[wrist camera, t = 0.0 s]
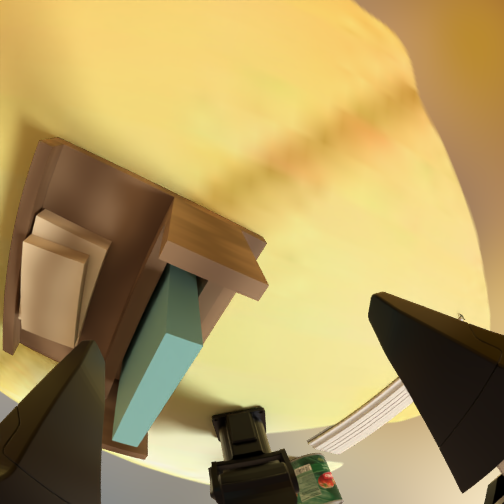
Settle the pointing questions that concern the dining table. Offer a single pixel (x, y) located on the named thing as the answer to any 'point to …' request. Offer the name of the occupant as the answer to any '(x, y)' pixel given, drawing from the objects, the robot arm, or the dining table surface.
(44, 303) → the upper offcut
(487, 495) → the robot arm
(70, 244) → the board
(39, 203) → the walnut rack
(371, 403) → the baseboard molding
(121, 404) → the teal sheet
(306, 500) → the canned tomato
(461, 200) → the dining table surface
